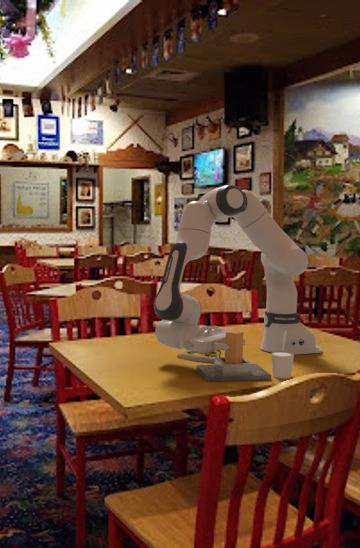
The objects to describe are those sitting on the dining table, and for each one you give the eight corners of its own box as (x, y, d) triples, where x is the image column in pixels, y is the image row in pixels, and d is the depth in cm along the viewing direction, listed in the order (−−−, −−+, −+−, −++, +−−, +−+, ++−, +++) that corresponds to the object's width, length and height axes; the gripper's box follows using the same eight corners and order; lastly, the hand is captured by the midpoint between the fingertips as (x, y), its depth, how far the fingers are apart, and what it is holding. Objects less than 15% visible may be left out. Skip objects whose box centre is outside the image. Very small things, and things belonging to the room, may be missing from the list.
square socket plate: (256, 368, 209) (256, 354, 208) (271, 379, 195) (271, 365, 195) (196, 369, 205) (196, 355, 204) (207, 381, 191) (207, 366, 191)
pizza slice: (174, 360, 220) (174, 351, 220) (200, 349, 238) (201, 341, 238) (215, 366, 213) (216, 357, 212) (239, 354, 231) (239, 346, 231)
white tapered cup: (268, 373, 203) (269, 351, 203) (289, 373, 204) (290, 351, 203) (273, 378, 197) (274, 356, 196) (295, 379, 197) (296, 356, 196)
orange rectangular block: (230, 367, 203) (232, 330, 201) (241, 369, 200) (243, 332, 199) (224, 370, 199) (225, 332, 198) (235, 372, 197) (236, 333, 196)
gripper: (180, 333, 198) (218, 340, 190) (216, 324, 214) (253, 330, 206) (180, 353, 198) (218, 361, 190) (216, 343, 215) (252, 349, 207)
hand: (236, 345), depth 198 cm, fingers open, 8 cm apart
